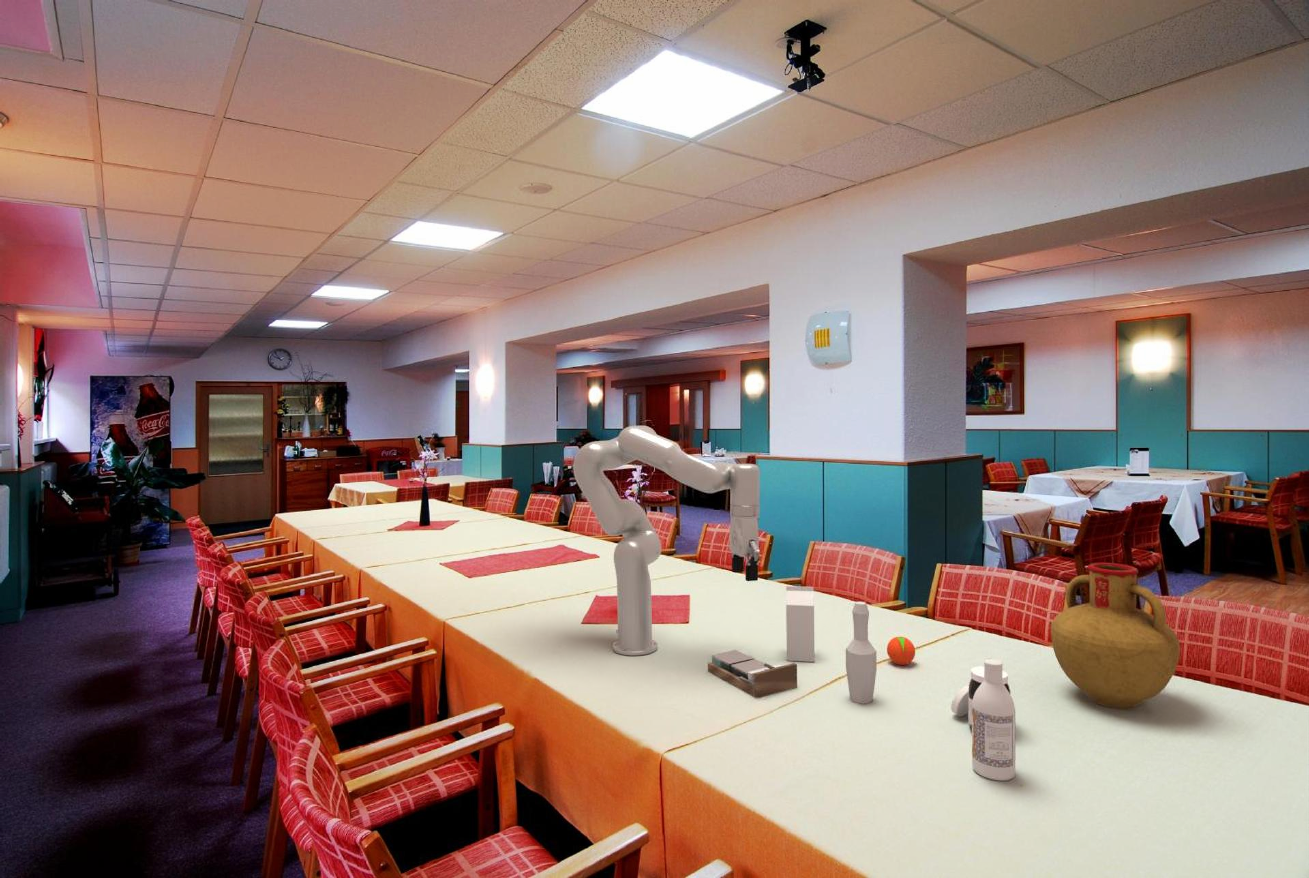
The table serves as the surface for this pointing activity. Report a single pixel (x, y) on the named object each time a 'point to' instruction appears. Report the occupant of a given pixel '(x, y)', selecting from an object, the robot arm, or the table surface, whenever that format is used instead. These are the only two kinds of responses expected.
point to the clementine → (901, 650)
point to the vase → (1114, 639)
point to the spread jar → (972, 693)
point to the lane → (761, 679)
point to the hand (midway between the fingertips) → (744, 576)
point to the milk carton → (800, 623)
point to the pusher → (751, 673)
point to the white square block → (746, 668)
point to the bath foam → (993, 726)
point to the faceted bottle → (861, 658)
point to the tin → (729, 659)
